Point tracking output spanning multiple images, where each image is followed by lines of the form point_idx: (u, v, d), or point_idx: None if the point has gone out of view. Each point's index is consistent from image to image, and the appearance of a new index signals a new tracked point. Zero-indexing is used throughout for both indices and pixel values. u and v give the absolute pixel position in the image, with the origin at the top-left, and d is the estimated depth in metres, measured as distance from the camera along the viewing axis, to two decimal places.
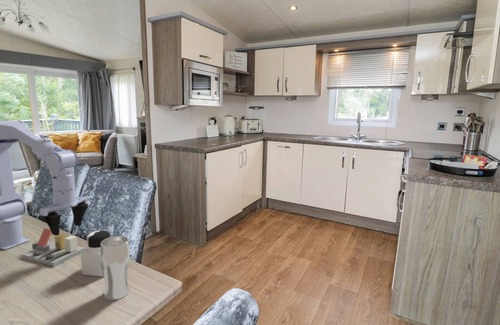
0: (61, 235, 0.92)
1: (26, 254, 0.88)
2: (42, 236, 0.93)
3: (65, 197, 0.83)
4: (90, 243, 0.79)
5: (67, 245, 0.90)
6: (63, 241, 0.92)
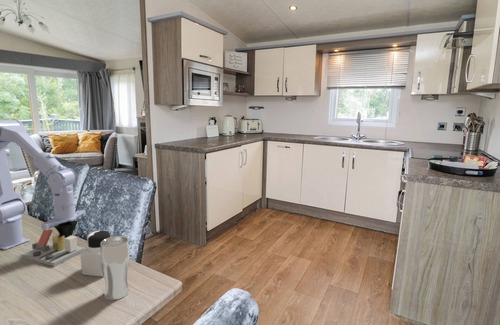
0: (59, 236, 0.92)
1: (26, 254, 0.88)
2: (42, 236, 0.93)
3: (64, 212, 0.91)
4: (90, 243, 0.79)
5: (67, 245, 0.90)
6: (60, 242, 0.91)
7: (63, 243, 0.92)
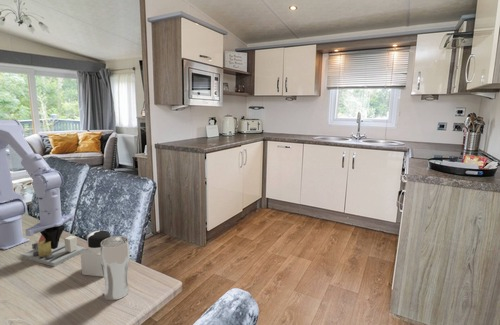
0: (45, 242, 0.87)
1: (26, 254, 0.88)
2: (42, 236, 0.93)
3: (50, 217, 0.86)
4: (90, 243, 0.79)
5: (67, 245, 0.90)
6: (46, 248, 0.87)
7: (49, 249, 0.88)
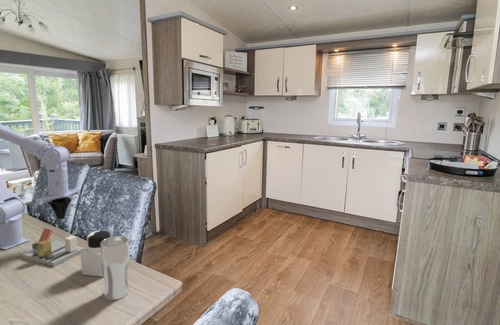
0: (45, 242, 0.87)
1: (26, 254, 0.88)
2: (42, 236, 0.93)
3: (58, 189, 0.93)
4: (90, 243, 0.79)
5: (67, 245, 0.90)
6: (46, 248, 0.87)
7: (49, 249, 0.88)
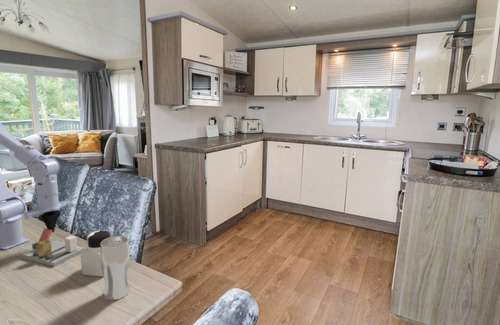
0: (45, 242, 0.87)
1: (26, 254, 0.88)
2: (42, 236, 0.93)
3: (48, 202, 0.91)
4: (90, 243, 0.79)
5: (67, 245, 0.90)
6: (46, 248, 0.87)
7: (49, 249, 0.88)
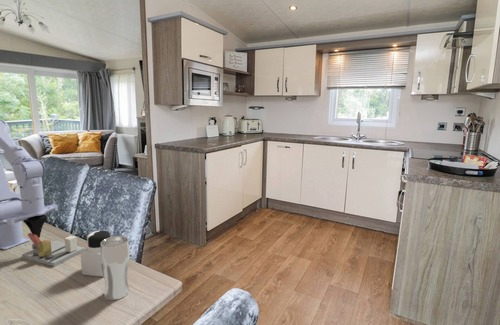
0: (45, 242, 0.87)
1: (26, 254, 0.88)
2: (33, 241, 0.90)
3: (32, 206, 0.86)
4: (90, 243, 0.79)
5: (67, 245, 0.90)
6: (46, 248, 0.87)
7: (49, 249, 0.88)
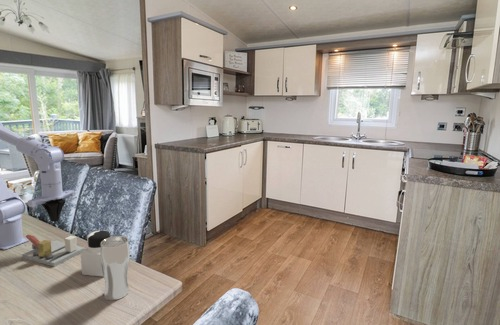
0: (45, 242, 0.87)
1: (26, 254, 0.88)
2: (32, 242, 0.90)
3: (51, 190, 0.90)
4: (90, 243, 0.79)
5: (67, 245, 0.90)
6: (46, 248, 0.87)
7: (49, 249, 0.88)
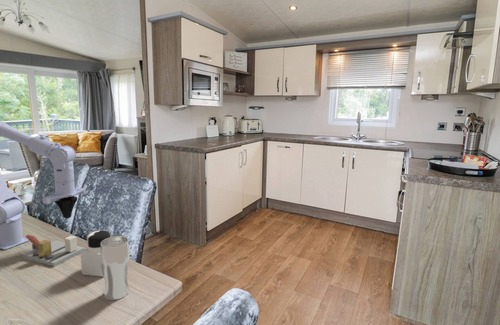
0: (45, 242, 0.87)
1: (26, 254, 0.88)
2: (32, 242, 0.90)
3: (65, 188, 0.94)
4: (90, 243, 0.79)
5: (67, 245, 0.90)
6: (46, 248, 0.87)
7: (49, 249, 0.88)
